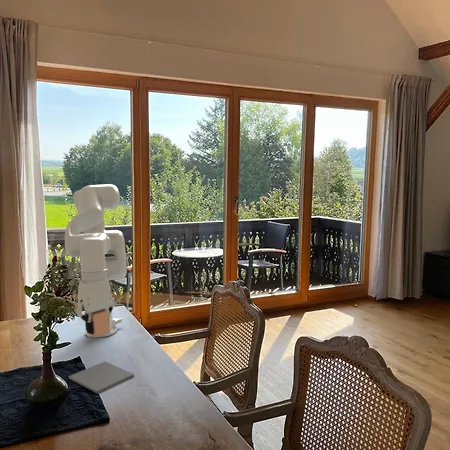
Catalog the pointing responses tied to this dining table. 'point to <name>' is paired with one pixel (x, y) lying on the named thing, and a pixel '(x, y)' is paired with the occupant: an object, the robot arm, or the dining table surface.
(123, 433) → the dining table surface
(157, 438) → the dining table surface
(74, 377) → the mat
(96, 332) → the block
